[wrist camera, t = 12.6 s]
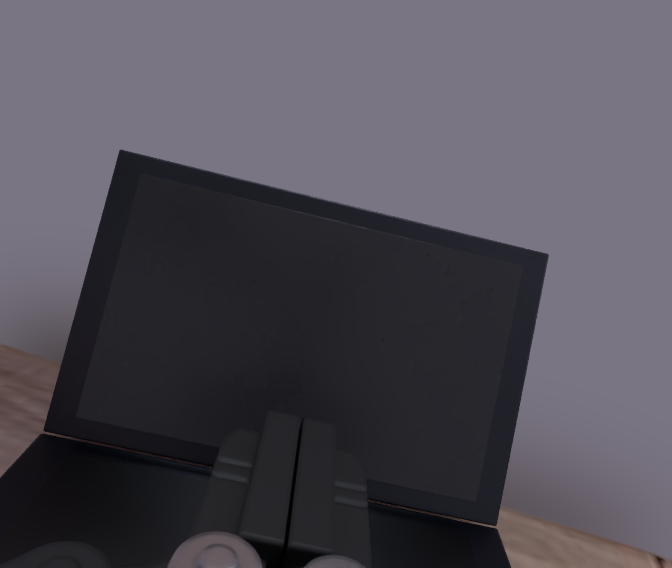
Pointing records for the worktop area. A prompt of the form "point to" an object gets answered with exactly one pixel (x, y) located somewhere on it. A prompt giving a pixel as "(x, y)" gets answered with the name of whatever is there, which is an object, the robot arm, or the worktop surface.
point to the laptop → (183, 511)
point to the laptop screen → (300, 333)
